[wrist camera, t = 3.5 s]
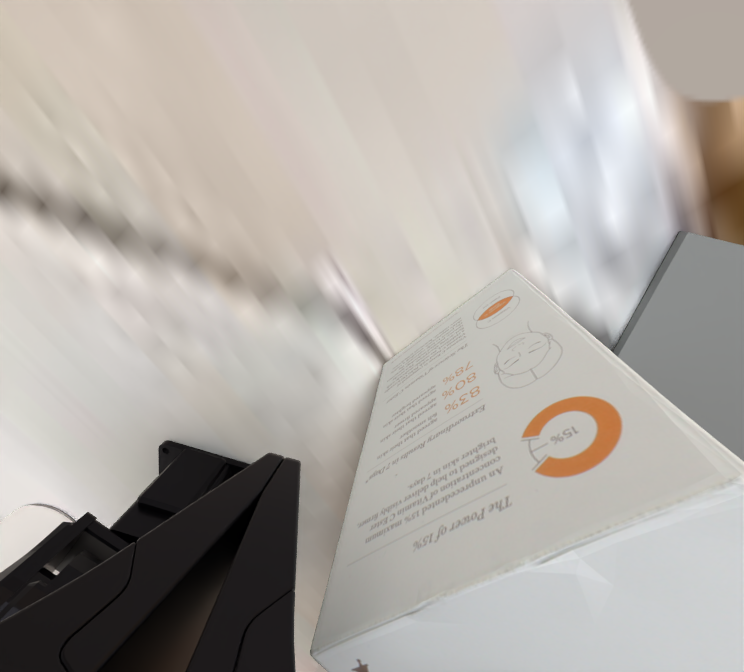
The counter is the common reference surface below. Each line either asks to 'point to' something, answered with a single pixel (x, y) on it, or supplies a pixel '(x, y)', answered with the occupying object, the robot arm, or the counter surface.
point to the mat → (695, 335)
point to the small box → (533, 511)
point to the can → (27, 531)
